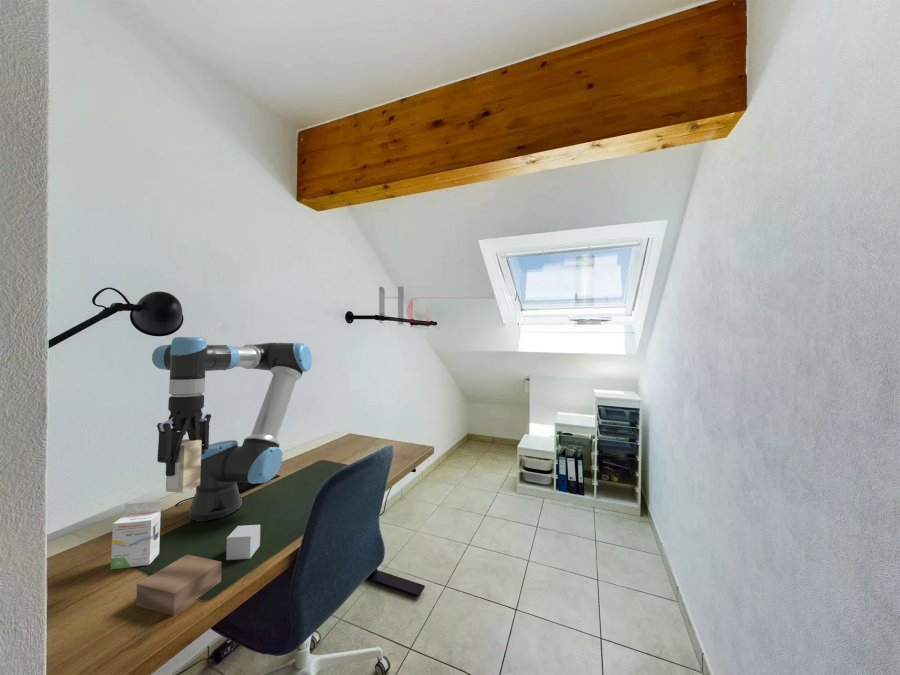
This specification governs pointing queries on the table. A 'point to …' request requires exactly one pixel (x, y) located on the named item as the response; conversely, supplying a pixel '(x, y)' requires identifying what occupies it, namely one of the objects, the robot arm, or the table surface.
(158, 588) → the walnut base block
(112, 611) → the table surface
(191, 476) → the oak column
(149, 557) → the ink box
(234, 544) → the grey plastic block
